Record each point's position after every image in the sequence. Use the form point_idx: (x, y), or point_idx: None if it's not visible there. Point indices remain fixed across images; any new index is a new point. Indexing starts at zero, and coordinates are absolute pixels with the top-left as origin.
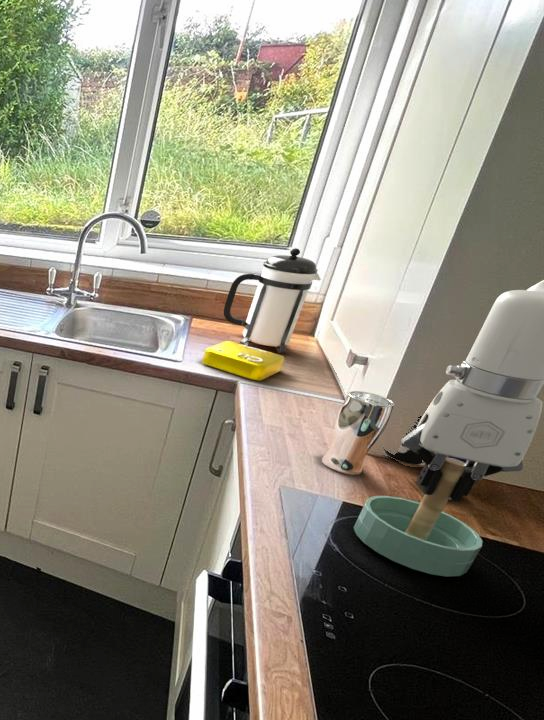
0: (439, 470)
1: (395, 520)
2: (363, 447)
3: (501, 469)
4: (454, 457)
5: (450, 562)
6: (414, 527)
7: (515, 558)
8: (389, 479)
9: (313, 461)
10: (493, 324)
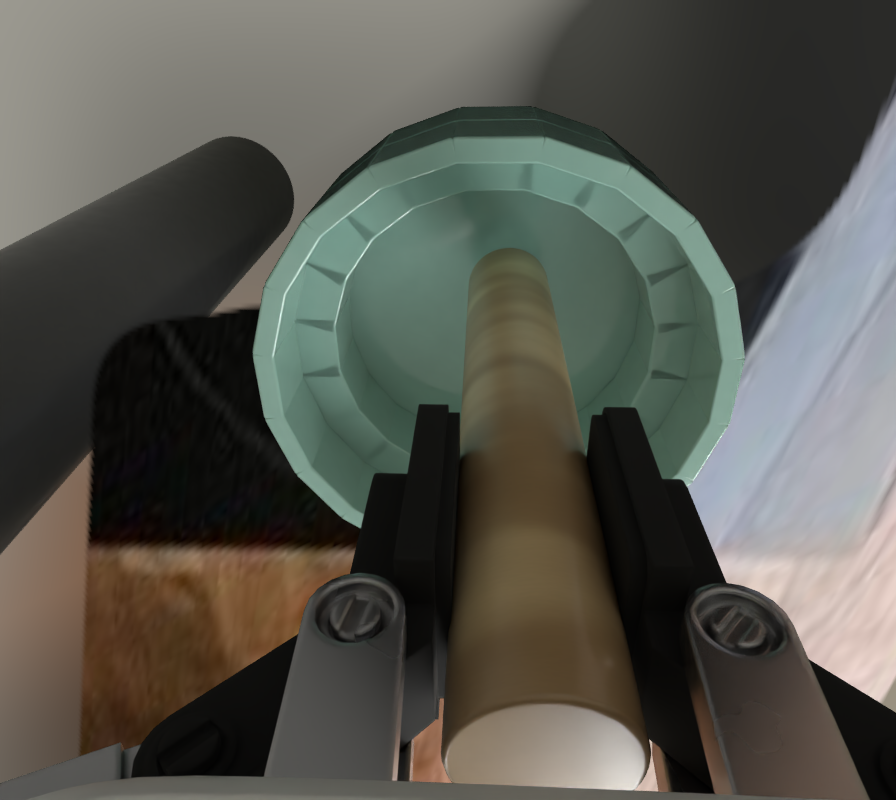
0: (649, 612)
1: None
2: None
3: (131, 774)
4: None
5: (400, 139)
6: (547, 303)
7: (134, 465)
8: (424, 743)
9: None
10: None
